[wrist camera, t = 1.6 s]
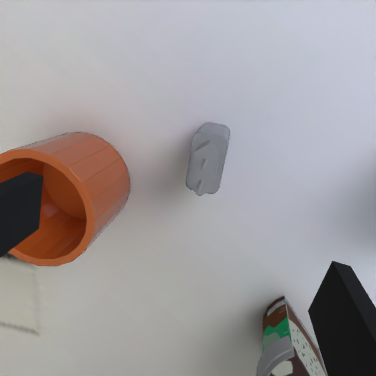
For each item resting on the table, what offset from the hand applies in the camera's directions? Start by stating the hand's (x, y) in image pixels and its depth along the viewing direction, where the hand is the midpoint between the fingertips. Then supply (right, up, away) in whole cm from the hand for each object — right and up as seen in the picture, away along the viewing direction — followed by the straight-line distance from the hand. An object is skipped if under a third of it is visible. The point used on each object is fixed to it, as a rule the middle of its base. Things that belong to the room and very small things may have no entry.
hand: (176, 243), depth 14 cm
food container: (+13, -16, +27) cm, 34 cm away
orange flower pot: (-12, +3, +24) cm, 27 cm away
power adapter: (+3, +7, +21) cm, 22 cm away
